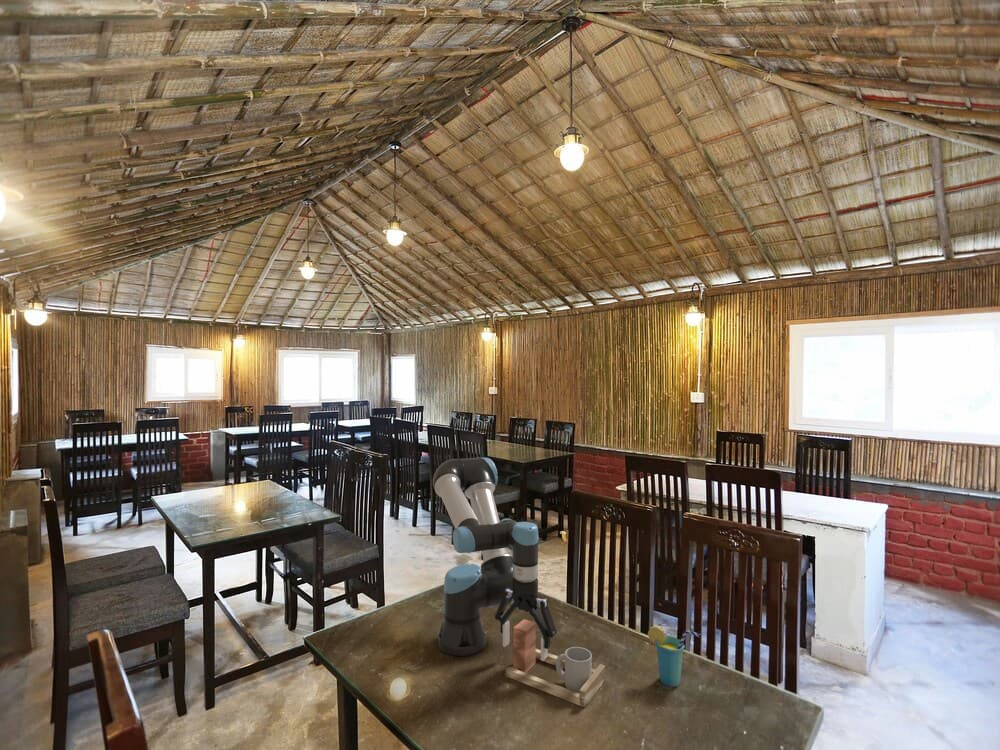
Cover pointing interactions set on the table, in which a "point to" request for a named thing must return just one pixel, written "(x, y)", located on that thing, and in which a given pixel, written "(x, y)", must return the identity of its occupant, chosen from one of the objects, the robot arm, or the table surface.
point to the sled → (528, 654)
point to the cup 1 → (575, 667)
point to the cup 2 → (669, 655)
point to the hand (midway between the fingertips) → (524, 651)
